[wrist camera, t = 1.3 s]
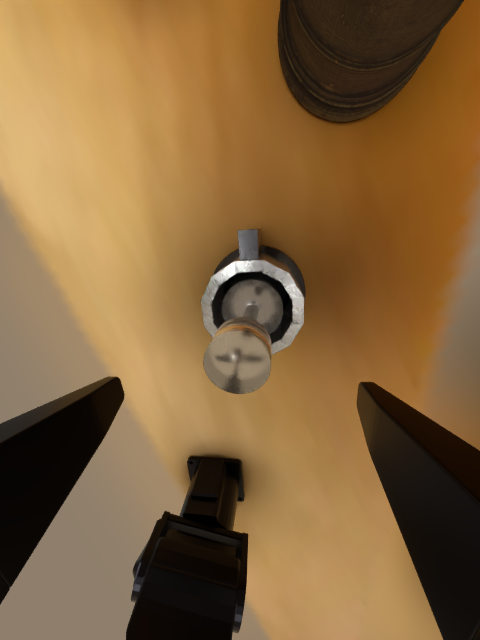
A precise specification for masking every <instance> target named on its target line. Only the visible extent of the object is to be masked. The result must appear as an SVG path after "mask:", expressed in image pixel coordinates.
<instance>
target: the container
mask: <svg viewBox="0 0 480 640" xmlns="http://www.w3.org/2000/svg"><path fill="white" fill-rule="evenodd" d="M463 1H464V0H281V1H280V13H279V21H278V49H279V57H280V62H281V67H282V70H283V73H284V76H285V79H286V81H287V84H288V86H289V88H290V89H291V91H292V93H293V94H294V96H295V97H296V98H297V100H298V101H299V102H300V103H301V105H302V106H304V107H305V108H306V109H307V110H309V111H310V112H311V113H313V114H315V115H317V116H319V117H321V118H324V119H327V120H330V121H336V122H347V121H353V120H357V119H360V118H363V117H365V116H368V115H370V114H372V113H374V112H375V111H377V110H379V109H380V108H381V107H383V106H384V105H385V104H387V103H388V102H389V101H390V100H391V99H392V98H393V97H395V95H396V94H397V93H398V92H400V91H401V90H402V88H403V87H404V86H405V85H406V84H407V82H408V81H409V80H410V79H411V77H412V76H413V74H414V73H415V71H416V70H417V68H418V67H419V65H420V64H421V63H422V62H423V60H424V59H425V57H426V55H427V54H428V53H429V51H430V50H431V48H432V46H433V45H434V43H435V41H436V39H437V37H438V35H439V34H440V31H441V29H442V28H443V27H444V26H445V25H446V24H447V22H448V21H449V20H450V19H451V18H452V16H453V15H454V14H455V13H456V11H457V10H458V8H459V7H460V6H461V4H462V3H463Z"/></svg>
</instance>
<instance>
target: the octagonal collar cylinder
mask: <svg viewBox="0 0 480 640" xmlns="http://www.w3.org/2000/svg"><path fill="white" fill-rule="evenodd" d="M238 241H239V249H238V250H236V251H234V252H232V253H231V254H229V255H228V256H227V257H225V258H224V259H223V260H222V262H221V263H220V264H219V265H218V267H217V268H216V270H215V272H214V274H213V276H212V277H211V279H210V281H209V283H208V286H207V288H206V290H205V292H204V295H203V297H202V299H201V307H202V314H203V322H204V327H205V328H206V329H207V331H208V332H209V333H210V335H211V336H212V337H214V335H215V334H216V332H217V330H218V328H219V327H220V326H221V325H222V324H223V323H224V322H225V320H224V318H223V314H222V303H223V299H224V297H225V295H226V293H227V292H228V291H229V289H230V288H231V287H232V286H233V285H234V284H236V283H237V282H239V281H241V280H244V279H250V278H255V279H261V280H264V281H266V282H268V283H270V284H271V285H272V286H274V287H275V289H276V290H277V291H278V292H279V294H280V296H281V299H282V303H283V316H282V319H281V322H280V324H279V325H278V327H277V328H276V329H275V330H274V331H273V332H272V333H270V334H269V335H270V338H271V355H273V354H275V353H277V352H278V351H280V350H282V349H284V348H286V347H288V346H290V344H291V343H292V341H293V340H294V338H295V337H296V335H297V333H298V332H299V330H300V329H301V327H302V326H303V323H304V300H305V285H304V280H303V277H302V274H301V272H300V270H299V268H298V267H297V265H296V264H295V262H294V261H293V260H292V259H291V258H290V257H289V256H288V255H286V254H285V253H284V252H282V251H280V250H278V249H276V248H274V247H270V246H265V245H262V244H261V229H251V230H238Z"/></svg>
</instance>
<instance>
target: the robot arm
mask: <svg viewBox="0 0 480 640" xmlns="http://www.w3.org/2000/svg"><path fill="white" fill-rule="evenodd" d="M123 400H124V391H123V387H122V384H121V381H120V379H119V378H118V377H106V378H104V379H102V380H99V381H97V382H95V383H92V384H90V385H88V386H85V387H83V388H81V389H79V390H76V391H74V392H72V393H69V394H67V395H65V396H63V397H60V398H58V399H56V400H54V401H51V402H49V403H47V404H44V405H42V406H40V407H37V408H35V409H33V410H31V411H28V412H26V413H24V414H22V415H19V416H17V417H15V418H12V419H10V420H8V421H6V422H3V423H1V424H0V604H1V602H2V601H3V599H4V598H5V596H6V595H7V593H8V591H9V589H10V587H11V586H12V584H13V583H14V581H15V579H16V578H17V577H18V575H19V573H20V572H21V570H22V568H23V567H24V565H25V564H26V562H27V560H28V559H29V557H30V556H31V554H32V553H33V551H34V549H35V548H36V546H37V545H38V543H39V541H40V540H41V538H42V537H43V535H44V533H45V532H46V530H47V529H48V527H49V525H50V524H51V522H52V520H53V519H54V517H55V516H56V514H57V512H58V511H59V509H60V507H61V506H62V504H63V503H64V501H65V500H66V498H67V496H68V495H69V493H70V492H71V490H72V488H73V487H74V485H75V484H76V482H77V481H78V479H79V477H80V476H81V474H82V473H83V471H84V469H85V468H86V466H87V465H88V463H89V461H90V459H91V458H92V457H93V455H94V453H95V452H96V450H97V449H98V447H99V445H100V444H101V442H102V440H103V439H104V437H105V435H106V433H107V432H108V430H109V428H110V426H111V424H112V422H113V420H114V418H115V416H116V414H117V412H118V410H119V408H120V406H121V404H122V402H123ZM357 409H358V413H359V417H360V420H361V424H362V428H363V431H364V435H365V439H366V442H367V446H368V449H369V452H370V455H371V458H372V461H373V463H374V466H375V468H376V471H377V473H378V476H379V478H380V481H381V483H382V486H383V488H384V491H385V493H386V496H387V498H388V501H389V503H390V506H391V509H392V511H393V514H394V516H395V519H396V521H397V524H398V526H399V529H400V531H401V533H402V536H403V539H404V541H405V544H406V546H407V549H408V551H409V554H410V556H411V559H412V561H413V564H414V566H415V569H416V572H417V574H418V577H419V579H420V582H421V584H422V587H423V589H424V592H425V594H426V597H427V599H428V602H429V604H430V607H431V610H432V612H433V615H434V617H435V620H436V622H437V625H438V627H439V629H440V632H441V635H442V637H443V640H480V451H479V450H478V449H476V448H475V447H473V446H472V445H470V444H468V443H467V442H465V441H464V440H462V439H461V438H459V437H457V436H456V435H454V434H453V433H451V432H450V431H448V430H446V429H445V428H443V427H442V426H440V425H439V424H437V423H436V422H434V421H433V420H431V419H430V418H428V417H426V416H425V415H423V414H422V413H420V412H419V411H417V410H416V409H414V408H412V407H411V406H409V405H408V404H406V403H405V402H403V401H402V400H400V399H398V398H397V397H395V396H394V395H392V394H391V393H389V392H388V391H386V390H384V389H383V388H381V387H380V386H378V385H377V384H375V383H373V382H360V383H359V387H358V395H357ZM187 465H188V470H189V475H190V480H191V483H190V486H189V489H188V492H187V495H186V498H185V501H184V504H183V507H182V510H181V513H180V516H177V515H174V514H170V512H167V511H165V512H164V514H163V516H162V518H161V519H159V520H157V523H156V525H155V527H154V530H153V532H152V534H151V537H150V539H149V541H148V543H147V544H146V546H145V548H144V550H143V551H142V553H141V554H140V556H139V558H138V560H137V561H136V563H135V565H134V568H133V575H134V579H135V580H134V585H133V591H132V596H131V601H133V602H136V603H135V606H134V609H133V612H132V615H131V618H130V621H129V624H128V627H127V632H126V640H232V632H235V633H238V632H239V630H240V626H241V622H242V615H243V610H244V602H245V594H246V582H247V555H248V534H247V533H243V534H242V533H239V532H235V531H233V527H234V520H235V512H236V505H237V501H239V502H242V501H244V485H243V475H242V464H241V461H239V460H232V459H217V458H203V457H189V458H188V460H187Z"/></svg>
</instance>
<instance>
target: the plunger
mask: <svg viewBox="0 0 480 640" xmlns="http://www.w3.org/2000/svg"><path fill="white" fill-rule="evenodd" d="M222 314H223V318H224V320H225V322H224V323H223V324H222V325H221V326H220V327H219V328H218V330H217V332H216V334H215V335H214V337H213V339H212V341H211V342H210V344H209V346H208V348H207V349H206V352H205V354H204V360H203V363H204V369H205V372H206V374H207V376H208V378H209V379H210V380H211V381H212V383H214V384H215V385H216V386H217V387H219V388H220V389H222V390H224V391H227V392H230V393H235V394H245V393H250V392H253V391H255V390H257V389H259V388H260V387H261V386H262V385H263V384H264V383H265V382H266V381H267V379H268V377H269V374H270V370H271V338H270V335H269V334H270V333H272V332H273V331H274V330H275V329H276V328H277V327H278V325H279V324H280V322H281V319H282V316H283V303H282V299H281V296H280V294H279V292H278V291H277V290H276V289H275V287H274V286H272V285H271V284H270V283H268V282H266V281H264V280H261V279H255V278H250V279H244V280H241V281H239V282H237V283H236V284H234V285H233V286H232V287H231V288H230V289H229V291H228V292H227V293H226V295H225V297H224V299H223V303H222Z"/></svg>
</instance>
